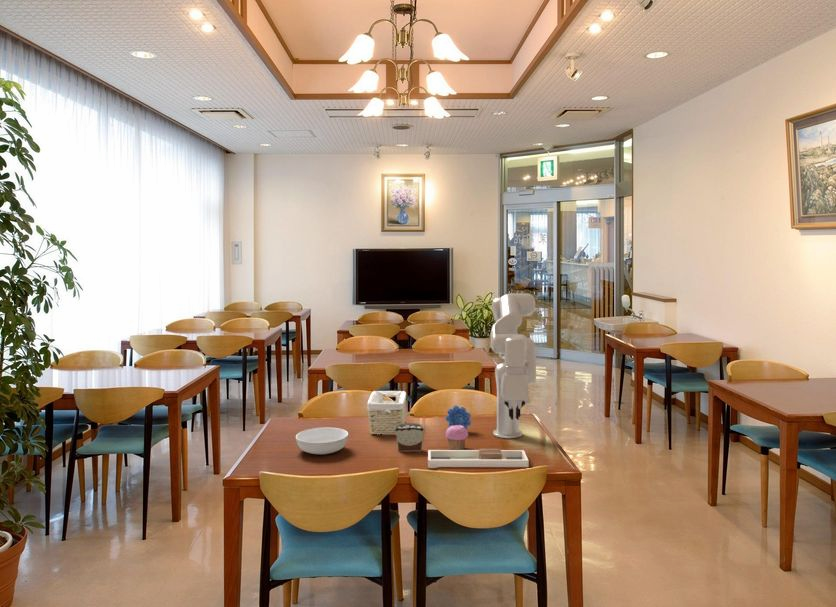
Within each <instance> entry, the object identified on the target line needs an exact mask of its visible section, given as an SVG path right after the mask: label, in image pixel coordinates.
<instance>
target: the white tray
mask: <svg viewBox="0 0 836 607" xmlns="http://www.w3.org/2000/svg"><path fill="white" fill-rule="evenodd" d="M500 450H501V453H502V459H479V449H462V450H452V449H428V450H427V454H428V455H427V469H439V468H529V466H530V463H529V459H528V457H527V455H526V451H525V450H524V449H507V450H506V449H500Z"/></svg>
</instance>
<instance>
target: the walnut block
mask: <svg viewBox="0 0 836 607" xmlns="http://www.w3.org/2000/svg"><path fill="white" fill-rule="evenodd" d="M478 450H479V459H502V453H501V450H502V449H501V448H479V449H478Z"/></svg>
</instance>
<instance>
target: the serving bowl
mask: <svg viewBox="0 0 836 607" xmlns="http://www.w3.org/2000/svg"><path fill="white" fill-rule="evenodd" d="M348 439H349V432H348V431H347V430H346V429H343V428H338V427H330V426H329V427H327V426H326V427H314V428H309V429H304V430H302V431H299V432H298V433H296V435H295V441H296V444H297V446H298V448H300V449H301V450H302V451H303V452H306V453H308V454H313V455H322V456H324V455H328V454H333V453H335V452H338V451H341V450H342V449H343V448H344V447H345V445H346V444H347V442H348Z"/></svg>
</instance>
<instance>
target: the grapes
mask: <svg viewBox="0 0 836 607" xmlns="http://www.w3.org/2000/svg"><path fill="white" fill-rule="evenodd" d="M471 417H472V416H471V413H470V412H467V409H466V407H464V406H461V407H459V406H458V405H454V406H453V407H452V408H449V409H447V415H446V416H445V420H446V421H447V422H448V428H449V427H451V426H454V425H461V426H464V427H465V428H466V430H467V431H468V429H469V428H468V427H469V426H470V427H471V425H472V420H471Z"/></svg>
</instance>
